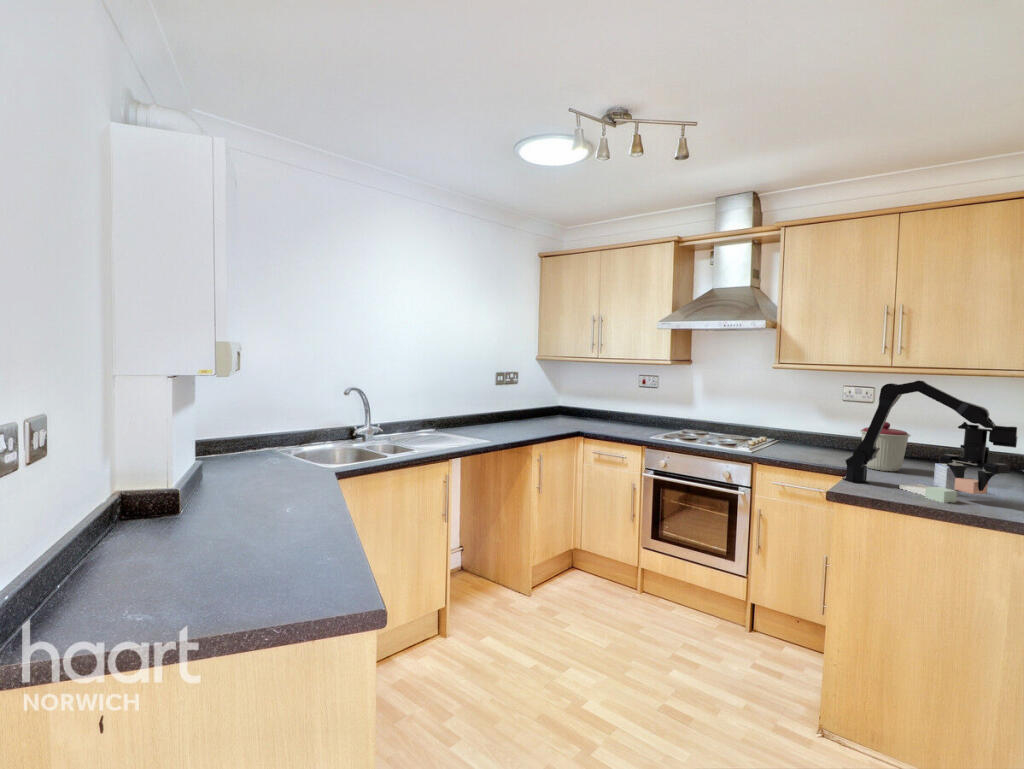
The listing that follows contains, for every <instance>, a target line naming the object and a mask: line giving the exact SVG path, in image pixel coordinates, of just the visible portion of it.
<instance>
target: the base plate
mask: <svg viewBox="0 0 1024 769" xmlns="http://www.w3.org/2000/svg"><path fill="white" fill-rule="evenodd" d="M926 487H930V486H929V485H925V484H919V483H918V484H899V488H900V489H899V488H898V489H899V490H901V489H903V490H902V491H905V490H907V491H906V492H909V491H910V493H913V494H916V493H917V494H916V495H920V494H921V496H924V497H925V491H926Z"/></svg>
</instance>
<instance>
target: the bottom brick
mask: <svg viewBox="0 0 1024 769" xmlns="http://www.w3.org/2000/svg"><path fill="white" fill-rule="evenodd" d="M988 486H989V482H988V483H987V485H986V486H985V488H984V489H983V491H979V487H978V478H977V479H976V478H972V477H964V478H955V490H958V491H959V492H962V493H967V494H972V495H983V494H986V495H987V494H988Z"/></svg>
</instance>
